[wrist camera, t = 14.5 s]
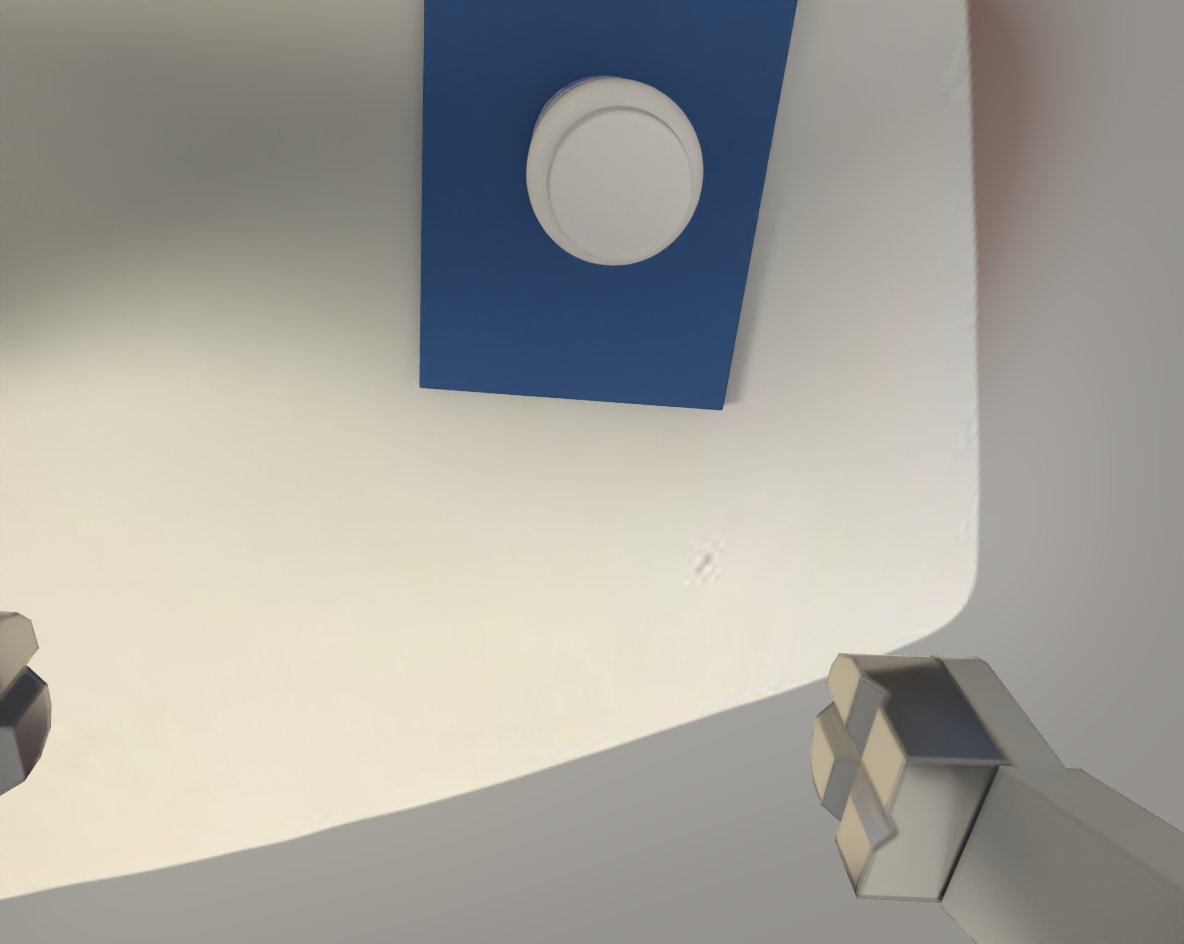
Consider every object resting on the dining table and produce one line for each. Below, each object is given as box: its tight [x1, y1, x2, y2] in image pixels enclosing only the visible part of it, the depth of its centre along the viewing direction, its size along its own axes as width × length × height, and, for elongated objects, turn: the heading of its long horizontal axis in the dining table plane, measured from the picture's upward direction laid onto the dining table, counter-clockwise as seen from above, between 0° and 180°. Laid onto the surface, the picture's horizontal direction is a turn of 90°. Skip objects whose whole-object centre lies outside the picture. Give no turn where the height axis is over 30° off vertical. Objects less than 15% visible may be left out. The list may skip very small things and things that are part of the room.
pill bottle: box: [526, 75, 703, 266], centre depth 27 cm, size 5×5×10 cm
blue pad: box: [419, 0, 797, 410], centre depth 32 cm, size 13×20×1 cm, turn 174°
